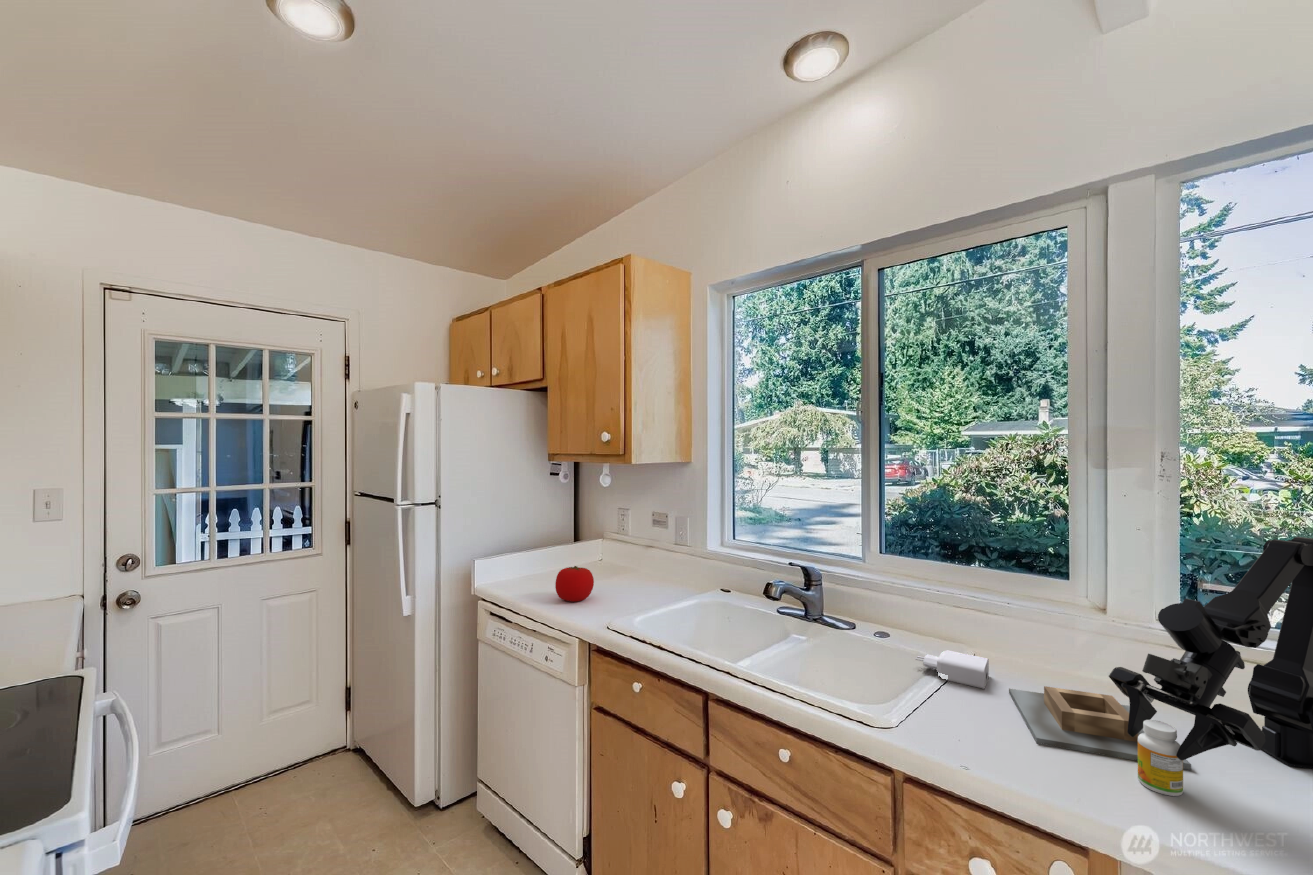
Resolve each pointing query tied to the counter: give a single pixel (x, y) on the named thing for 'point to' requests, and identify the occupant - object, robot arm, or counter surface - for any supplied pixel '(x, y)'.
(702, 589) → the counter surface
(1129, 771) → the counter surface
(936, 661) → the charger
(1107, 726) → the socket block
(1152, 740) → the supplement bottle
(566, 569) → the tomato
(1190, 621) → the robot arm
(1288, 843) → the counter surface
